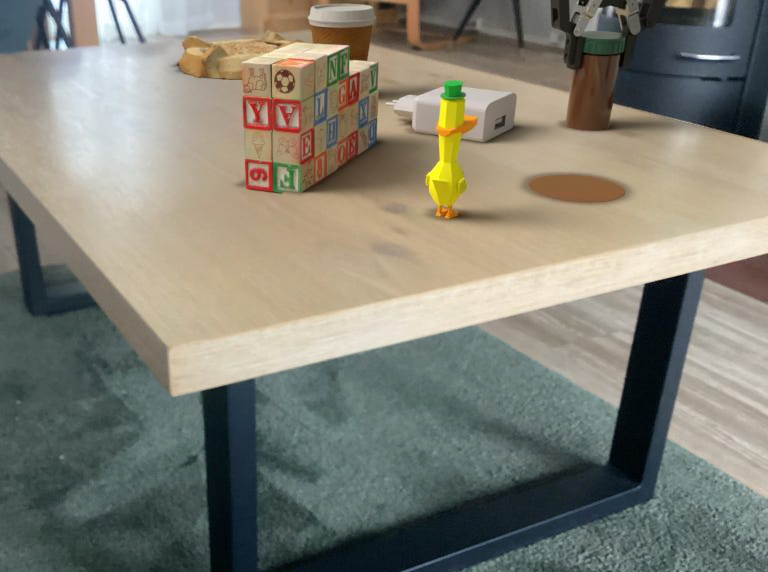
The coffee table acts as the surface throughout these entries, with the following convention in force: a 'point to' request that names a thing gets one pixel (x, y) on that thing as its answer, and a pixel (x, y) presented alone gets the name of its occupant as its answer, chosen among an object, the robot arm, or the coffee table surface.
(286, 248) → the coffee table surface
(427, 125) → the charger
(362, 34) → the disposable coffee cup
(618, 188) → the coaster
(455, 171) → the toy figure
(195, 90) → the coffee table surface
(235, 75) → the tan flat lumpy slab
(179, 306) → the coffee table surface
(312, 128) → the stack of blocks
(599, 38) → the lid
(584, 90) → the jar
